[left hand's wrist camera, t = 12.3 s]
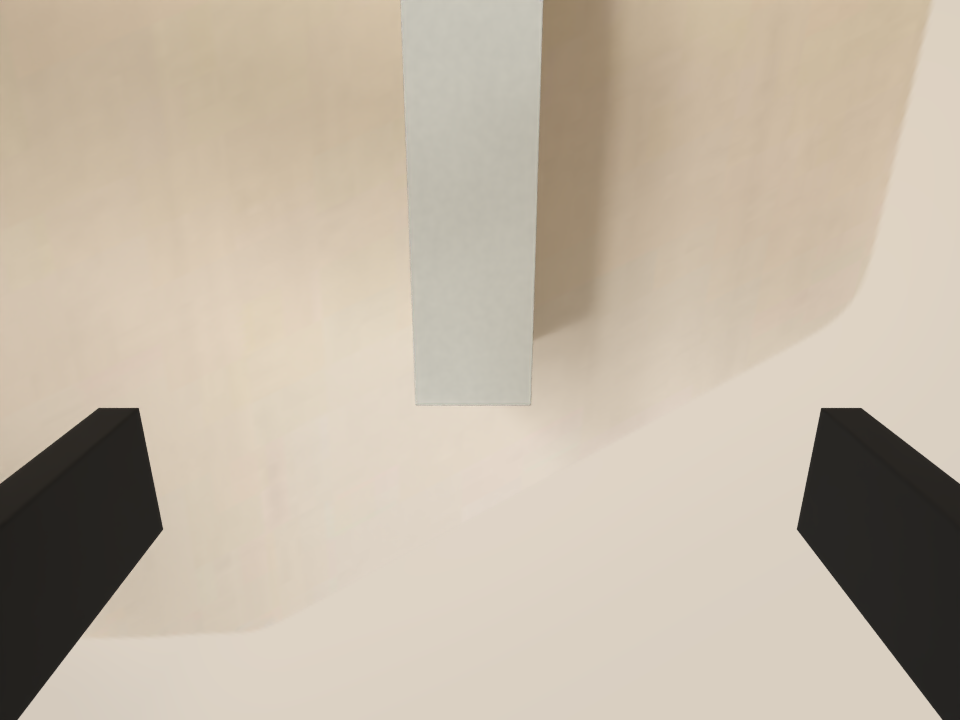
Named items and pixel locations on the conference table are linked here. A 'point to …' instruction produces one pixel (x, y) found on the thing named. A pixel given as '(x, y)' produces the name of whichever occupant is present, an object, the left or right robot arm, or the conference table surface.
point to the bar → (472, 195)
